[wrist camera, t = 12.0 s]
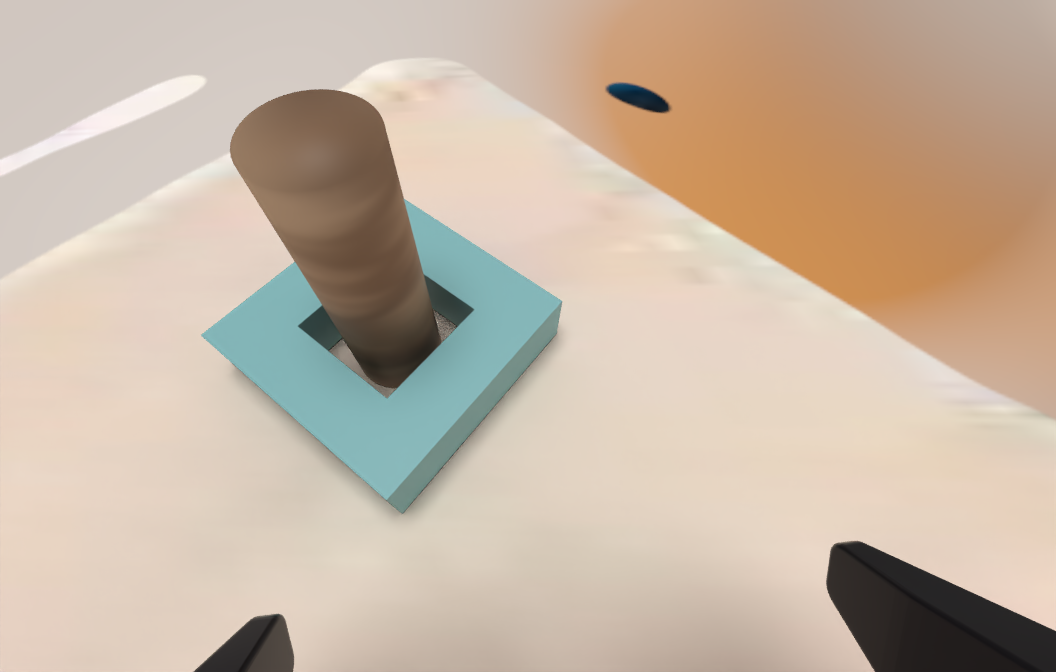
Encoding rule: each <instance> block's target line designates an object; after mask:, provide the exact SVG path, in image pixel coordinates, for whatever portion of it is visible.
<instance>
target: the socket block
mask: <svg viewBox="0 0 1056 672" xmlns="http://www.w3.org/2000/svg"><path fill="white" fill-rule="evenodd" d="M404 201H405V205H406V209H407V213H408V217H409V220H410V224H411V228H412V232H413V236H414V240H415V243H416V247H417V251H418V255H419V259H420V263H421V266H422V270H423V274H424V278H425V282H426V285H427V289H428V293H429V297H430V301H431V305H432V308H433V309H434V310H435V311H437V312H438V313H440V314H441V315H442V316H444V317H445V318H447V319H448V320H449V321H451V322H452V323H454V324H455V325H456V326H458V327H457V328H456V329H455V330H454V331H453V332H452V333H451V334H450V335H449V336H448V337H447V338H446V339H445V340H444V341H443V342H442V343H441V344H440V345H439V346H438V347H437V348H436V349H435V350H434V351H433V352H432V353H431V354H430V355H429V356H428V358H427V359H426V360H425V361H424V362H423V363H422V364H421V365H420V366H419V367H418V368H417V369H416V370H415V371H414V372H413V373H412V374H411V375H410V376H409V377H408V378H407V379H406V380H405V381H404V382H403V383H402V384H401V385H400V386H399V387H398V388H397V389H396V390H395V391H394V392H393V393H392V394H391V395H390V396H389V397H388V398H386V397H384V396H383V395H382V394H381V393H379V392H378V391H377V390H376V389H374V388H373V387H372V386H371V385H369V384H368V383H367V382H366V381H365V380H363V379H362V378H361V377H360V376H358V375H357V374H356V373H355V372H353V371H352V370H351V369H350V368H349V367H347V366H346V365H345V364H344V363H342V362H341V361H340V360H339V359H337V358H336V357H335V356H334V355H332V354H331V353H330V352H329V351H328V350H329V349H330V348H332V347H333V346H334V345H335V344H336V343H337V342H338V341H339V340H340V339H342V338H343V337H342V336H341V334H340V333H339V331H338V330H337V328H336V326H335V325H334V323H333V322H332V320H331V318H330V317H329V315H328V314H327V312H326V310H325V309H324V307H323V306H322V304H321V302H320V301H319V299H318V298H317V296H316V294H315V293H314V291H313V290H312V288H311V286H310V285H309V283H308V282H307V280H306V278H305V277H304V275H303V274H302V272H301V270H300V269H299V267H298V266H297V264H296V262H294V263H293V264H291V265H290V266H289V267H288V268H286V269H285V270H284V271H282V272H281V273H280V274H279V275H277V276H276V277H275V278H273V279H272V280H271V281H270V282H268V283H267V284H266V285H264V286H263V287H262V288H261V289H259V290H258V291H257V292H255V293H254V294H253V295H252V296H250V297H249V298H248V299H247V300H245V301H244V302H243V303H241V304H240V305H239V306H238V307H236V308H235V309H234V310H232V311H231V312H230V313H229V314H227V315H226V316H225V317H223V318H222V319H221V320H220V321H218V322H217V323H216V324H214V325H213V326H212V327H211V328H209V329H208V330H207V331H206V332H204V333H203V334H202V335H201V336H202V337H203V338H204V339H206V340H207V341H208V342H209V343H210V344H211V345H212V346H213V347H215V348H216V349H217V350H218V351H219V352H220V353H221V354H222V355H224V356H225V357H226V358H227V359H228V360H229V361H230V362H231V363H233V364H234V365H235V366H236V367H237V368H238V369H239V370H240V371H242V372H243V373H244V374H245V375H246V376H247V377H248V378H249V379H251V380H252V381H253V382H254V383H255V384H256V385H257V386H258V387H260V388H261V389H262V390H263V391H264V392H265V393H266V394H267V395H269V396H270V397H271V398H272V399H273V400H274V401H275V402H276V403H278V404H279V405H280V406H281V407H282V408H283V409H284V410H285V411H287V412H288V413H289V414H290V415H291V416H292V417H293V418H294V419H295V420H297V421H298V422H299V423H300V424H301V425H302V426H303V427H304V428H306V429H307V430H308V431H309V432H310V433H311V434H312V435H313V436H315V437H316V438H317V439H318V440H319V441H320V442H321V443H322V444H324V445H325V446H326V447H327V448H328V449H329V450H330V451H331V452H333V453H334V454H335V455H336V456H337V457H338V458H339V459H340V460H342V461H343V462H344V463H345V464H346V465H347V466H348V467H349V468H351V469H352V470H353V471H354V472H355V473H356V474H357V475H358V476H360V477H361V478H362V479H363V480H364V481H365V482H366V483H367V484H369V485H370V486H371V487H372V488H373V489H374V490H375V491H376V492H377V493H379V494H380V495H381V496H382V497H383V498H384V499H385V500H386V501H388V502H389V503H390V504H391V505H392V506H394V507H395V508H396V509H397V510H398V511H399V512H401V513H402V514H403V513H404V511H405V510H406V509H407V508H408V507H409V505H410V504H411V503H412V502H413V501H414V500H415V498H416V497H417V496H418V495H419V494H420V493H421V491H422V490H423V489H424V488H425V487H426V486H427V484H428V483H429V482H430V481H431V480H432V479H433V477H434V476H435V475H436V474H437V473H438V472H439V470H440V469H441V468H442V467H443V466H444V465H445V463H446V462H447V461H448V460H449V459H450V458H451V456H452V455H453V454H454V453H455V452H456V451H457V449H458V448H459V447H460V446H461V445H462V444H463V442H464V441H465V440H466V439H467V438H468V436H469V435H470V434H471V433H472V432H473V431H474V429H475V428H476V427H477V426H478V425H479V424H480V422H481V421H482V420H483V419H484V418H485V417H486V415H487V414H488V413H489V412H490V411H491V410H492V408H493V407H494V406H495V405H496V404H497V403H498V401H499V400H500V399H501V398H502V397H503V396H504V394H505V393H506V392H507V391H508V390H509V389H510V387H511V386H512V385H513V384H514V383H515V382H516V380H517V379H518V378H519V377H520V376H521V375H522V373H523V372H524V371H525V370H526V369H527V367H528V366H529V365H530V364H531V363H532V362H533V360H534V359H535V358H536V357H537V356H538V355H539V353H540V352H541V351H542V350H543V349H544V348H545V346H546V345H547V344H548V343H549V342H550V341H551V339H552V338H553V337H554V336H555V335H556V334H557V328H558V322H559V317H560V311H561V305H562V301H561V300H560V299H558V298H556V297H555V296H553V295H552V294H550V293H549V292H547V291H546V290H544V289H543V288H541V287H539V286H538V285H536V284H535V283H533V282H532V281H530V280H529V279H527V278H526V277H524V276H522V275H521V274H519V273H518V272H516V271H515V270H513V269H512V268H510V267H509V266H507V265H505V264H504V263H502V262H501V261H499V260H498V259H496V258H495V257H493V256H492V255H490V254H488V253H487V252H485V251H484V250H482V249H481V248H479V247H478V246H476V245H475V244H473V243H471V242H470V241H468V240H467V239H465V238H464V237H462V236H461V235H459V234H458V233H456V232H454V231H453V230H451V229H450V228H448V227H447V226H445V225H444V224H442V223H441V222H439V221H437V220H436V219H434V218H433V217H431V216H430V215H428V214H427V213H425V212H424V211H422V210H420V209H419V208H417V207H416V206H414V205H413V204H411V203H410V202H408V201H407V200H405V199H404Z"/></svg>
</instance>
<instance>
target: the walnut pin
mask: <svg viewBox="0 0 1056 672" xmlns="http://www.w3.org/2000/svg"><path fill="white" fill-rule="evenodd" d="M230 153H231V158H232V161H233V164H234V165H235V167H236V168H237V170H238V172H239V173H240V175H241V176H242V178H243V179H244V181H245V183H246V184H247V186H248V187H249V189H250V191H251V192H252V194H253V195H254V197H255V199H256V200H257V202H258V203H259V205H260V207H261V208H262V210H263V211H264V213H265V215H266V216H267V218H268V219H269V221H270V223H271V224H272V226H273V227H274V229H275V231H276V232H277V234H278V235H279V237H280V239H281V240H282V242H283V243H284V245H285V247H286V248H287V250H288V251H289V253H290V255H291V256H292V258H293V259H294V261H295V262H296V264H297V266H298V267H299V269H300V270H301V272H302V274H303V275H304V277H305V278H306V280H307V282H308V283H309V285H310V286H311V288H312V290H313V291H314V293H315V294H316V296H317V298H318V299H319V301H320V302H321V304H322V306H323V307H324V309H325V310H326V312H327V314H328V315H329V317H330V318H331V320H332V322H333V323H334V325H335V326H336V328H337V330H338V331H339V333H340V334H341V336H342V337H343V339H344V341H345V342H346V344H347V345H348V347H349V349H350V350H351V352H352V353H353V355H354V357H355V358H356V360H357V361H358V363H359V365H360V366H361V368H362V369H363V371H364V373H365V374H366V375H367V376H368V377H369V378H370V379H371V380H372V381H374V382H375V383H377V384H379V385H382V386H385V387H391V388H398V387H399V386H400V385H401V384H402V383H403V382H404V381H405V380H406V379H407V378H408V377H409V376H410V375H411V374H412V373H413V372H414V371H415V370H416V369H417V368H418V367H419V366H420V365H421V364H422V363H423V362H424V361H425V360H426V359H427V358H428V356H429V355H430V354H431V353H432V352H433V351H434V350H435V349H436V348H437V347H438V346H439V345H440V344H441V339H440V335H439V331H438V328H437V324H436V320H435V316H434V312H433V308H432V305H431V301H430V297H429V293H428V289H427V285H426V282H425V278H424V274H423V270H422V266H421V263H420V259H419V255H418V251H417V247H416V243H415V240H414V236H413V232H412V228H411V224H410V220H409V217H408V213H407V209H406V205H405V201H404V198H403V194H402V190H401V186H400V182H399V178H398V175H397V171H396V167H395V163H394V159H393V156H392V152H391V148H390V144H389V140H388V136H387V133H386V129H385V125H384V122H383V119H382V117H381V115H380V114H379V112H378V111H377V110H376V109H375V108H374V107H373V106H372V105H371V104H370V103H369V102H367V101H365V100H364V99H362V98H360V97H358V96H355V95H352V94H349V93H346V92H341V91H335V90H321V89H320V90H306V91H299V92H294V93H291V94H287V95H283V96H281V97H278V98H275V99H273V100H271V101H269V102H267V103H265V104H263V105H261V106H260V107H258V108H257V109H255V110H254V111H252V112H251V113H250V114H249V115H248V116H247V117H245V118H244V120H243V121H242V122H241V123H240V124H239V126H238V127H237V129H236V130H235V132H234V134H233V137H232V140H231V145H230Z"/></svg>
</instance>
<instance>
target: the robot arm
mask: <svg viewBox="0 0 1056 672" xmlns="http://www.w3.org/2000/svg"><path fill="white" fill-rule="evenodd" d="M826 584H827V590H828V593H829V596H830V598H831V600H832V602H833V603H834V605H835V606H836V608H837V610H838V611H839V613H840V615H841V616H842V618H843V620H844V621H845V623H846V625H847V626H848V628H849V630H850V631H851V633H852V635H853V636H854V638H855V640H856V641H857V643H858V644H859V646H860V648H861V649H862V651H863V653H864V654H865V656H866V658H867V659H868V661H869V663H870V664H871V666H872V668H873V669H874V671H875V672H1056V631H1054V630H1052V629H1050V628H1048V627H1046V626H1044V625H1041V624H1039V623H1037V622H1035V621H1033V620H1030V619H1028V618H1026V617H1024V616H1022V615H1020V614H1017V613H1015V612H1013V611H1011V610H1009V609H1007V608H1004V607H1002V606H1000V605H998V604H996V603H993V602H991V601H989V600H987V599H985V598H983V597H980V596H978V595H976V594H974V593H972V592H970V591H967V590H965V589H963V588H961V587H959V586H956V585H954V584H952V583H950V582H948V581H946V580H943V579H941V578H939V577H937V576H935V575H932V574H930V573H928V572H926V571H924V570H922V569H919V568H917V567H915V566H913V565H911V564H909V563H906V562H904V561H902V560H900V559H898V558H895V557H893V556H891V555H889V554H887V553H885V552H882V551H880V550H878V549H876V548H874V547H871V546H869V545H867V544H865V543H863V542H860V541H849V542H841V543H836V544H834V545H833V547H832V548H831V551H830V558H829V566H828V573H827V580H826ZM293 668H294V654H293V649H292V645H291V641H290V637H289V633H288V629H287V625H286V621H285V619H284V617H283V616H282V615H281V614H272V615H264V616H257V617H254V618H253V619H251V620H250V621H248V622H247V623H246V624H245V625H244V626H243V627H242V628H241V629H240V630H239V631H237V632H236V633H235V634H234V635H233V636H232V637H231V638H230V639H229V640H228V641H226V642H225V643H224V644H223V645H222V646H221V647H220V648H219V649H218V650H217V651H216V652H214V653H213V654H212V655H211V656H210V657H209V658H208V659H207V660H206V661H205V662H204V663H202V664H201V665H200V666H199V667H198V668H197V669H196V670H195V671H194V672H293Z"/></svg>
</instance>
